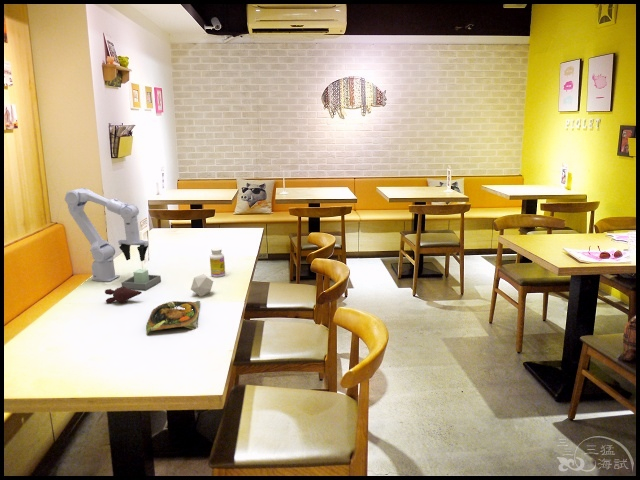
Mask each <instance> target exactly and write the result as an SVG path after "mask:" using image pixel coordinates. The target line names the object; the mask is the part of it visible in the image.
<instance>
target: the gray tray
mask: <svg viewBox="0 0 640 480" xmlns="http://www.w3.org/2000/svg"><path fill="white" fill-rule="evenodd" d="M148 275H149V281H148V282H147V283H145V284H144V283H134V275H133V276H131V277H129V278H127V279H125V280H123V281H122V282H121V283H120V284H121V287H123V286H124V287H126V288H127V289H131V290H135V291H144V292H145V291H148V290H149V289H151V288H153V287H155V286H156V285H158V284H160V283H161V282H162V277H161V275H157V274H148Z"/></svg>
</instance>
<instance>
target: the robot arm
mask: <svg viewBox="0 0 640 480" xmlns="http://www.w3.org/2000/svg"><path fill="white" fill-rule="evenodd" d="M64 201H65V203H66V204H67V208H68V212H69V214H70V216H71V217H72V218H73V220H74V222H75V223H76V225H77V226H78V228H79V229H80V230H81V232H82V234H83V235H84V236H85V239H87V241H88V242H89V244H90V248H89V249H90V250H89V251H90V253H91V254H92V259H93V260H94V261H92V264H91V272H92V279H91V280H92V281H97V282H111V281H113V280H115V279H118V278H120V275H117V274H116V271H115V262H114V256H115V255H116V249H115V247H114V246H113V245H111V244H110V242H109V241H108V240H105V239H103V237H102V236H101V235H100V233H99V231H98V230H97V229H96V227H95V226H94V224H93V223H92V221H91V220H90V218H89V217H88V215H87V214H86V212H85V206H86V204H87V203H88V202H91V203H95V204H98V205H101V206H103V207H106V209H107V210H108V211H109V212H111V213H113V214H116V215H119V216H120V217H121V218H122V219H123V223H124V224H123V225H124V231H125V233H124V234H125V238H126V239H119V240H118V241H117V242H118V245H119V249H120V251H121V252H122V254H123V255H124V258H125V260H126V261H129V260H131V246H137V247H136V249H137V251H138V253H139V254H138V255H139V261H140V262H144V261H145V260H146V254H147V253H146V252H147V250H148V248H149V245H150V244H149V240H144V239H143V240H142V239H141V238H140V233H139V231H140V230H139V221H138V215H139V213H140V211H139V208H138V206H136V205H135V204H133V203H132V204H129V203H127V202H123V201H120V200H119V199H118V198H110V199H108V198H107V197H105V196H102V195H100V194H98V193H96V192H94V191H92V190H91V189H88V188H85V187H79V188H77V189H72V190H69V191H67V192H66V194H65V197H64Z"/></svg>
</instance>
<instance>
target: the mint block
mask: <svg viewBox="0 0 640 480" xmlns="http://www.w3.org/2000/svg"><path fill="white" fill-rule="evenodd" d="M132 274H133V276H134V283H144V284H145V283H147V282H148V281H149V275H150V274H149V270H148V269H137V270H136V271H133V273H132Z"/></svg>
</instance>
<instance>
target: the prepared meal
mask: <svg viewBox="0 0 640 480" xmlns="http://www.w3.org/2000/svg"><path fill="white" fill-rule="evenodd" d="M200 303H201V301H200V300H197V301H178V300H177V301H174V300H173V301H168V302H166V303H165V302H164V303H163V304H160V305H157V306H156V307H155V308H153V309H152V311H151V313H150V315H149V318H148V320H147V322H146V325H145V328H146V335H148V334H149V332H151V331H158V330H159V331H160V330H166V329H174V328H180V327H181V328H182V327H184V328H187V329H189V330H195V329H197V328H199V324H198V318H199V313H200ZM178 307H180V308H178ZM184 308H185V309H184ZM192 309H193V310H192Z"/></svg>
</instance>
